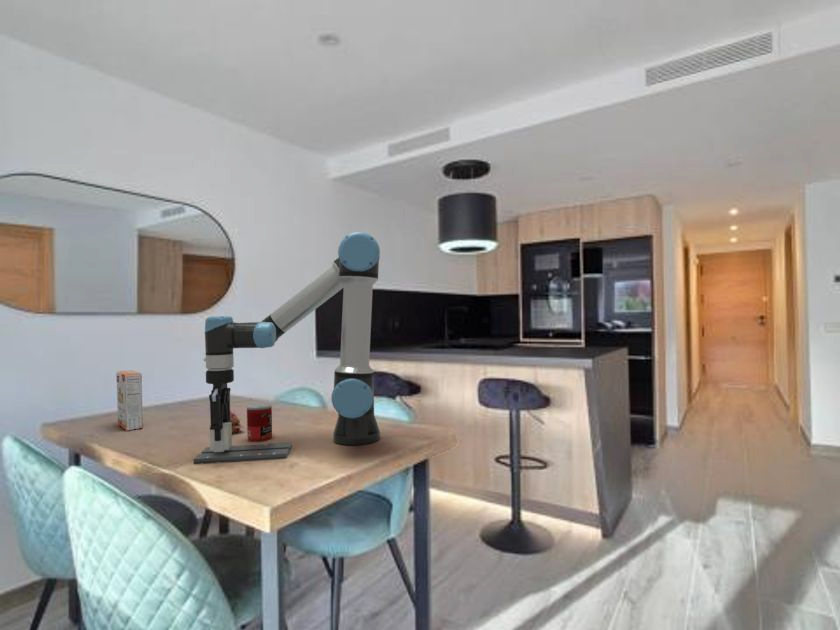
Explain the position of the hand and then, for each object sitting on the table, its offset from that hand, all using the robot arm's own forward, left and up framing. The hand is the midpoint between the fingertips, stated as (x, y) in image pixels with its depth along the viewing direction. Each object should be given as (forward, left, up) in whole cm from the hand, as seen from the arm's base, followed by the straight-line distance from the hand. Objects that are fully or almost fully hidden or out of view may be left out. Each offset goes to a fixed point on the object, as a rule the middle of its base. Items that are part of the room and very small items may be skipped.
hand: (221, 449), depth 138 cm
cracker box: (+46, -48, -2) cm, 66 cm away
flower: (+5, -30, -2) cm, 30 cm away
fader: (0, 0, -2) cm, 2 cm away
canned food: (-7, -19, -2) cm, 20 cm away
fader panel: (-7, 0, -2) cm, 7 cm away
